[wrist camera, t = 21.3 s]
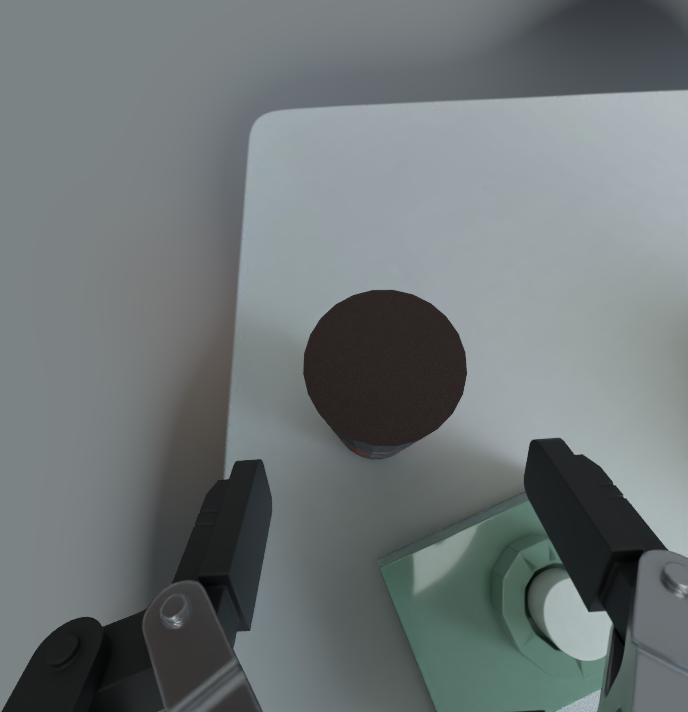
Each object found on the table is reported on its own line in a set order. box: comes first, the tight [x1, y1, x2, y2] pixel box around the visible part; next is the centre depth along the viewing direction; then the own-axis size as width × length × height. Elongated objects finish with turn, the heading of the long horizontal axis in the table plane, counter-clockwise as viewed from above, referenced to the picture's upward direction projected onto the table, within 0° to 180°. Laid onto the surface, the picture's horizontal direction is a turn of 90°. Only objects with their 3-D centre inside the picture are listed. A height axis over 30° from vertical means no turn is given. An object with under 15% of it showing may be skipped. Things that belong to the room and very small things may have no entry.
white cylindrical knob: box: [528, 568, 612, 661], centre depth 20 cm, size 4×4×2 cm
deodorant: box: [303, 290, 467, 459], centre depth 21 cm, size 6×6×15 cm
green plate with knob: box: [378, 492, 606, 712], centre depth 23 cm, size 13×10×4 cm
